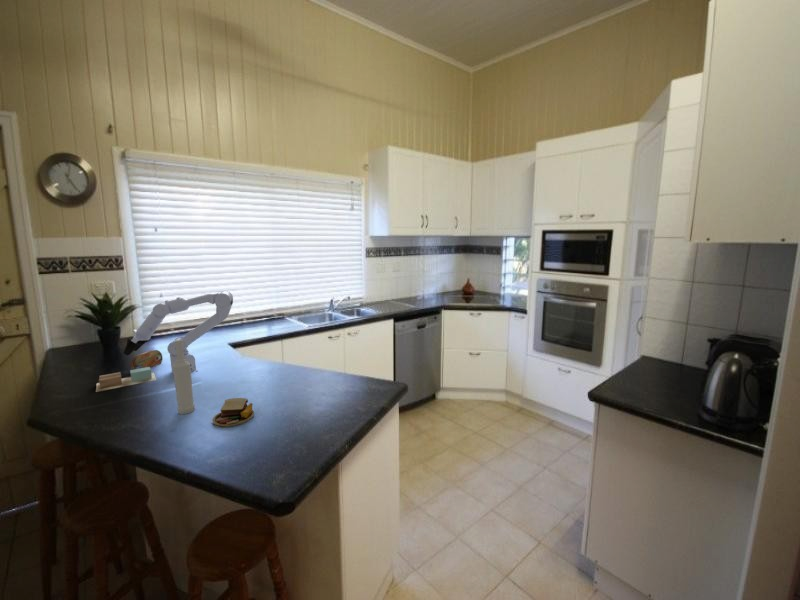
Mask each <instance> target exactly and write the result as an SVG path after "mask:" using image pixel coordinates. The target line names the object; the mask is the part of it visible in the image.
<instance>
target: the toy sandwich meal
mask: <svg viewBox="0 0 800 600" xmlns="http://www.w3.org/2000/svg"><path fill="white" fill-rule="evenodd" d="M247 403H249V404H247ZM254 415H255V412H254V410H253V403H252V402H251V403H250V402H249V400H248V398H245V397H235V398H234V397H233V398H228V399H225V400H224V403H223V405H222V407H221V408H220V412H219V413H217V414H216V415H214V416H213V418H212V420H211V421H212V423H213V424H214V425H215V426H218V427H222V428H230V427H235V426H239V425H242V424H244V423H247V422H248V421H250V420H251V419H252V418H253V417H254Z"/></svg>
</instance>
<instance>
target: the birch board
mask: <svg viewBox="0 0 800 600" xmlns="http://www.w3.org/2000/svg"><path fill="white" fill-rule="evenodd" d="M151 375H152V379H147V380H142V381H137V382H132V380H131V376H129V377H123V378H121V379H122V385H118V386H113V387H108V388H102V389H100V383H99V382H97V383H96V388H95V392H96V393H99V392H103V391H108V390H113V389H118V388H124V387H127V386H133V385H137V384H143V383H148V382H153V381H157V378H156V375H155V372H151Z"/></svg>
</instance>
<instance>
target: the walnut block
mask: <svg viewBox="0 0 800 600" xmlns="http://www.w3.org/2000/svg"><path fill="white" fill-rule="evenodd" d="M122 379H123V378H122V373H121V371H119V372H113V373H108V374H102V375H99V379H98V383H100V389H102V388H108V387H113V386H118V385H122Z"/></svg>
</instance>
